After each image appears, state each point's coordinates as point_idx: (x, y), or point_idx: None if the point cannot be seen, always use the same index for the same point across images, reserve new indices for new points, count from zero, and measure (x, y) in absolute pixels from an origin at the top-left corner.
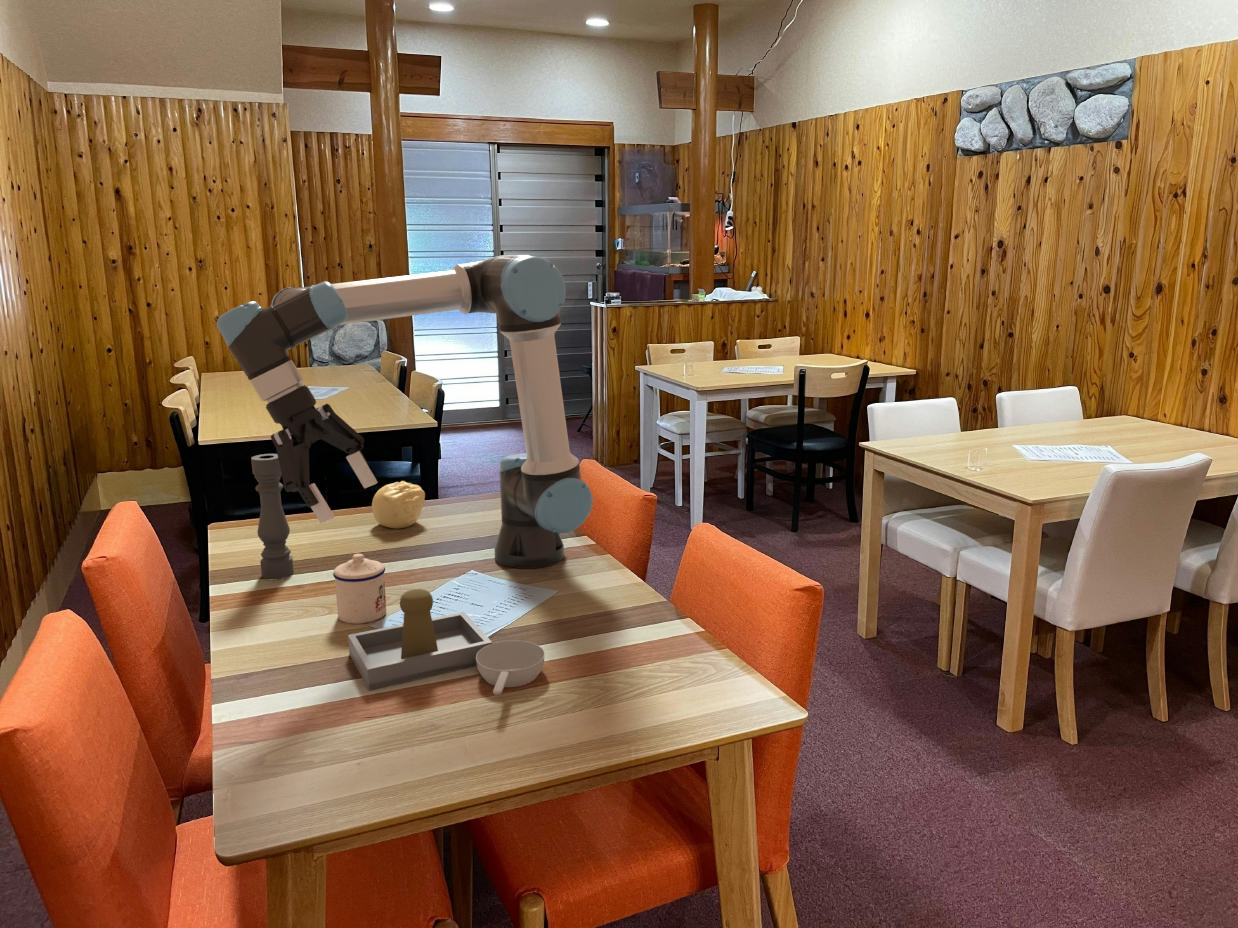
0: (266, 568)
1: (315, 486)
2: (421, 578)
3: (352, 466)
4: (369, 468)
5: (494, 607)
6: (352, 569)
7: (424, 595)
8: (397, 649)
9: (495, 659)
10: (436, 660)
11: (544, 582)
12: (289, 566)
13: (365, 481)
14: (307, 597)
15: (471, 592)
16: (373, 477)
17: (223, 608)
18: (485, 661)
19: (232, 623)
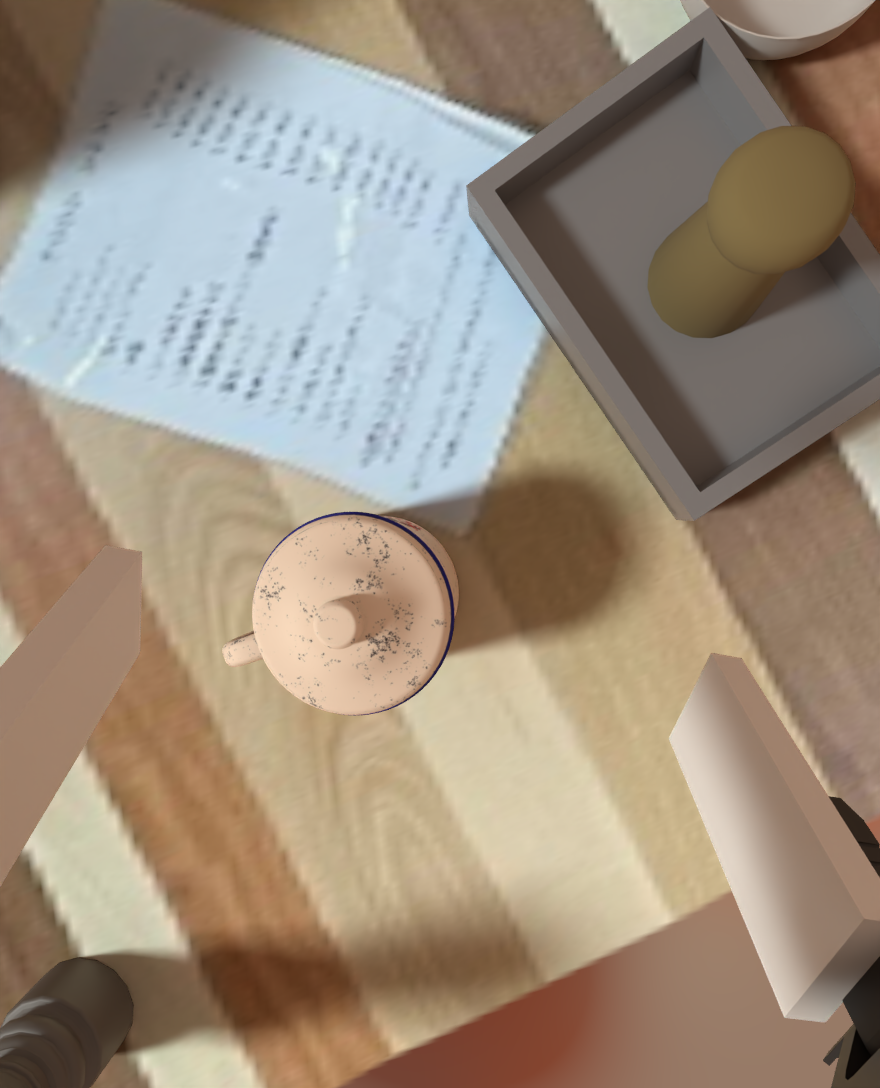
0: (110, 1052)
1: (855, 883)
2: (59, 504)
3: (41, 804)
4: (38, 624)
5: (277, 171)
6: (407, 622)
7: (817, 137)
8: (671, 365)
9: None
10: None
11: (41, 53)
12: (71, 983)
13: (120, 646)
14: (265, 826)
15: (160, 289)
16: (100, 575)
17: (380, 1053)
18: None
19: (489, 972)
